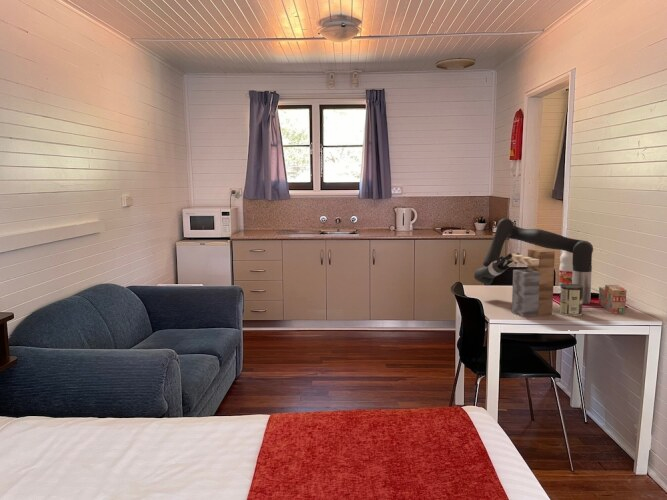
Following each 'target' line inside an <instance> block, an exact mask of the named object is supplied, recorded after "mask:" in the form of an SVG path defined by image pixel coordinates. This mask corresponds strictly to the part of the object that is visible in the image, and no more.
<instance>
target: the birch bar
mask: <svg viewBox="0 0 667 500" xmlns="http://www.w3.org/2000/svg"><path fill="white" fill-rule="evenodd" d="M511 254H512V258H510V259H509V260H510V261H514V263H515V262H518V263H517V264H522V265H526V266H527V265H529V266H539V259H535V258H531V257H528V256H525V255H522V254H520V255H518V254H517V253H511Z"/></svg>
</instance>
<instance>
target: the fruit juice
mask: <svg viewBox="0 0 667 500" xmlns="http://www.w3.org/2000/svg"><path fill="white" fill-rule="evenodd" d="M562 251H563V252H562V254H561V255H560V256H559V261H560V263H559V268H558V290H560V291H561V285H562V284H572V273H573V265H572V262H573V253H571V252H568V251H564V250H562Z"/></svg>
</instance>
